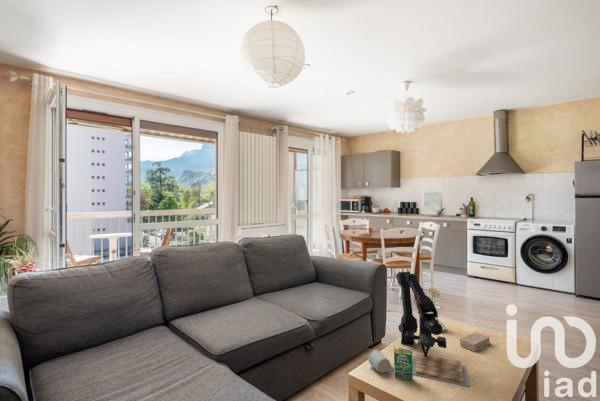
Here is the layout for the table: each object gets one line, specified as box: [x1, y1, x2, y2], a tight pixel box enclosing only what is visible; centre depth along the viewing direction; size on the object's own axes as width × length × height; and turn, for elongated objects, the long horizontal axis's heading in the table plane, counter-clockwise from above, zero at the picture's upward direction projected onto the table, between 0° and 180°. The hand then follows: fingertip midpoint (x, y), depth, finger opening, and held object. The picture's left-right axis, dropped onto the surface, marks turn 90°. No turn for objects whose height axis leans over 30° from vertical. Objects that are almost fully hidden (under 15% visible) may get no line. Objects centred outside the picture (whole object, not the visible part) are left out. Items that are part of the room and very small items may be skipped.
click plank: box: [416, 352, 463, 372], centre depth 151 cm, size 20×7×1 cm, turn 66°
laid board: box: [416, 363, 464, 384], centre depth 144 cm, size 20×7×1 cm, turn 66°
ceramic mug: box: [368, 349, 394, 374], centre depth 150 cm, size 11×8×8 cm
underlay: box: [412, 355, 470, 387], centre depth 148 cm, size 24×17×1 cm
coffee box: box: [393, 346, 414, 382], centre depth 142 cm, size 8×3×13 cm, turn 61°
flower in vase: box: [427, 286, 447, 332], centre depth 192 cm, size 13×11×25 cm
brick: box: [459, 331, 491, 352], centre depth 171 cm, size 17×8×5 cm, turn 123°
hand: (425, 355), depth 155 cm, fingers closed, pressing on click plank
